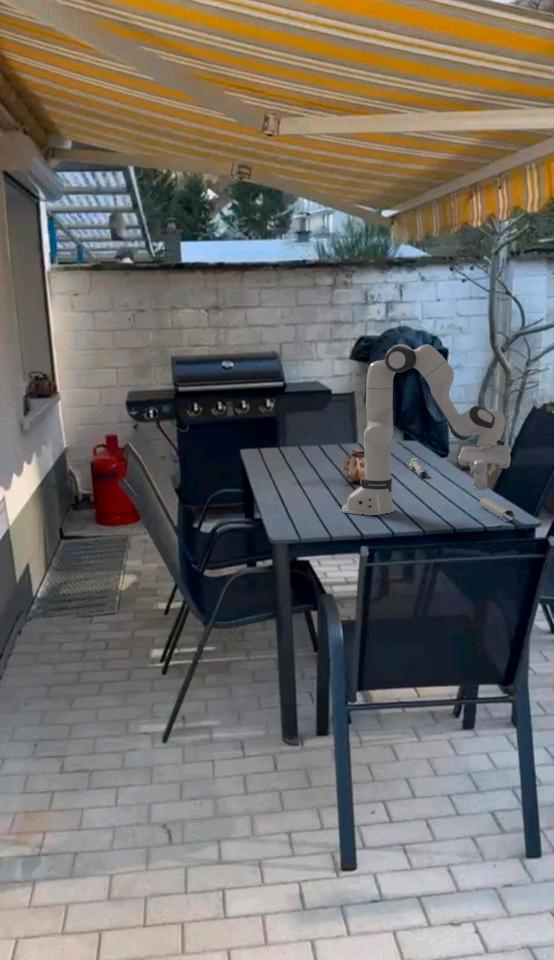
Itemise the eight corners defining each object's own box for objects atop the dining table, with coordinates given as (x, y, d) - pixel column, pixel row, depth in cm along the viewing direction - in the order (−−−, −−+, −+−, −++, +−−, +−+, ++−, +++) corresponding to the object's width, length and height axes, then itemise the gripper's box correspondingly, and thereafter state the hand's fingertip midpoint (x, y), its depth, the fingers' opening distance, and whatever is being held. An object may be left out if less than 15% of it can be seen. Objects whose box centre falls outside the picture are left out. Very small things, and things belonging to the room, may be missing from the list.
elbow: (475, 486, 315) (476, 459, 312) (489, 487, 312) (489, 460, 309) (469, 490, 308) (469, 463, 306) (483, 491, 305) (483, 464, 303)
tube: (475, 498, 339) (500, 512, 315) (487, 494, 339) (512, 507, 315) (479, 509, 340) (504, 524, 316) (490, 505, 340) (516, 519, 316)
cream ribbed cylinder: (418, 471, 396) (408, 455, 419) (417, 483, 398) (407, 467, 421) (428, 470, 396) (418, 455, 419) (427, 483, 398) (417, 466, 422)
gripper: (461, 440, 318) (452, 468, 312) (511, 442, 308) (504, 471, 301) (464, 448, 323) (456, 476, 317) (514, 451, 312) (507, 480, 306)
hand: (480, 474), depth 309 cm, fingers closed on elbow, 5 cm apart
